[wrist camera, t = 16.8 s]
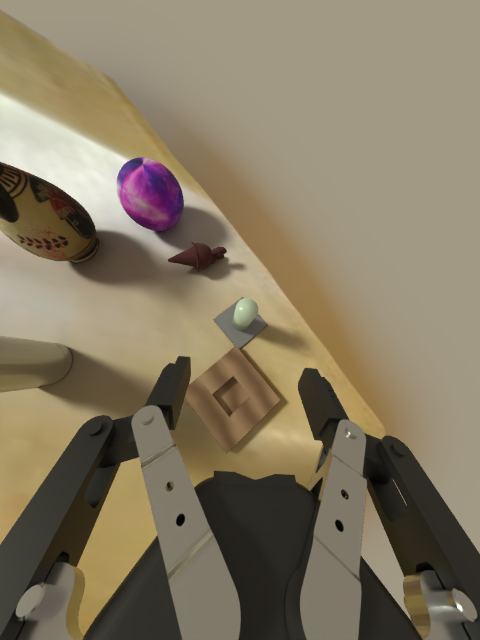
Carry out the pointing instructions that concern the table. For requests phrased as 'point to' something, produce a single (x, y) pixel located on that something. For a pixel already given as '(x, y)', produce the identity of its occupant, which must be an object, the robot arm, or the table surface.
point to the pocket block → (231, 398)
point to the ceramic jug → (44, 218)
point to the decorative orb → (150, 194)
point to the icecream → (199, 256)
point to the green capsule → (244, 314)
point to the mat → (234, 335)
